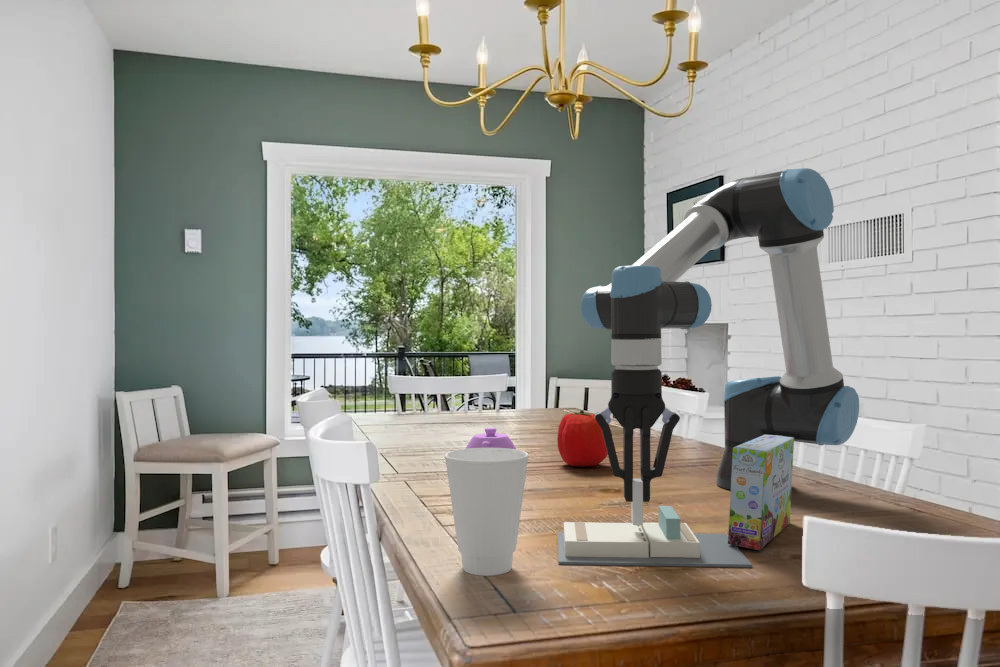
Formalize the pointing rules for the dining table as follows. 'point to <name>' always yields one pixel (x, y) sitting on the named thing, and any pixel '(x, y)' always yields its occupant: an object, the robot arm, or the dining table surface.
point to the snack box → (760, 490)
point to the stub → (670, 536)
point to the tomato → (581, 440)
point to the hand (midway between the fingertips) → (637, 522)
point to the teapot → (490, 440)
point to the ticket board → (637, 547)
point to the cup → (486, 505)
